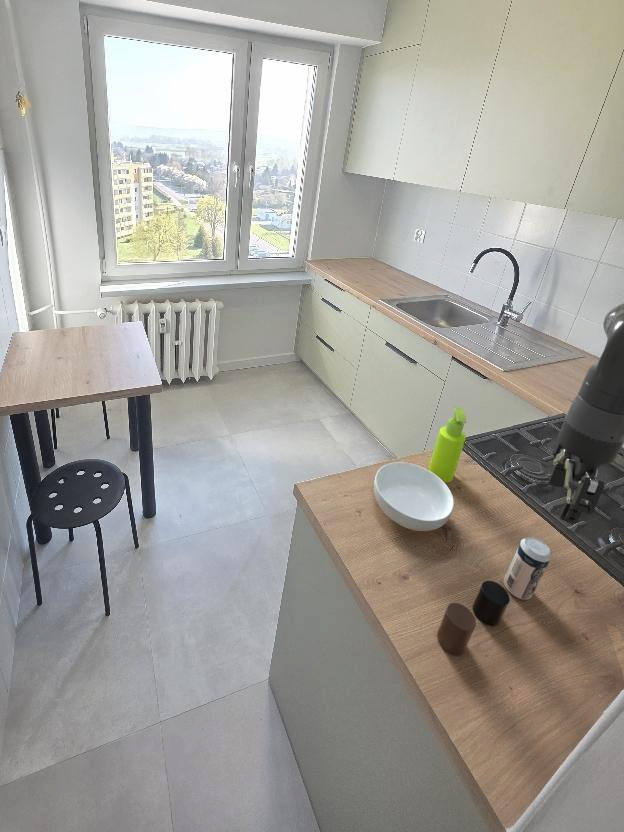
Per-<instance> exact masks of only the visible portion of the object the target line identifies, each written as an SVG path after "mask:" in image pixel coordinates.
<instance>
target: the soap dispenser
mask: <svg viewBox="0 0 624 832" xmlns="http://www.w3.org/2000/svg"><path fill="white" fill-rule="evenodd" d="M453 411H454V415H453V417H450V418H449V419H448V422H447V424H446V425H444V426H442V427H440V429H439V431H438V434H437V439H436V442H435V445H434V449H433V452H432V456H431V459H430V463H429V467H428V469H427V470H429V471H431V472H432V473H434V474H435V475H436V476H438V477H439V478H440V479H441V480H442V481H443V482H444V483H451V482H452V481H453V479H454V477H455V473H456V470H457V467H458V464H459V460H460V458H461V454H462V452H463V448H464V445H465V442H466V438H467V436H466V434H465V433H464V432H463V429H464V426H465V424H466V423H467V419H466V414H465V410H464V408H461V407H454V409H453Z"/></svg>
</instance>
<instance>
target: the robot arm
mask: <svg viewBox="0 0 624 832" xmlns="http://www.w3.org/2000/svg"><path fill="white" fill-rule="evenodd" d="M602 325H603V331H604V334H605V335H606V339H607V340H606V343H605V347H604V349H603V351H602V354H601V355H600V357H599V360H598V361H596V362H594V363H593V364H591V365H590V366H589V368H588V369H587V371H586V374H585V376H584V378H583V379H582V380H583V381H582V382H581V384H580V388H579V390H578V392H577V393H576V396H575V397H574V399H573V400H572V402H571V404H570V406H569V408H568V411H567V413H566V415H565V418H564V420H563V422H562V425H561V427H560V429H559V432H558V435H557V441H556V443H555V445H554V448H553V450H552V452H551V456H552V457H554V459H553V461H552V463H553V467H552V470H551V472H550V475H549V477H548V481H547V482H548V484H549V485H550V486H553V487H557V488H564V487H565V488H566V490H567V492H566V493H567V494H566V499H565V502H564V504H563V506H562V508H561V510H560V512H559V514H558V515H559V518H560V520H561V521H563V522H567V523H570V524H576V523H577V522H578V520H579V518H580V516H581V514H582V513H585V514H588V515H593V513H594V511H595V509H596V507H597V504H598V502H599V500H600V498H601V495H602V494H603V491H604V490H605V489H604V488H605V482H604V481H601V480H599V479H596V477H598V472H599V467H600V466H602V465H606V464H611V463H614V462H615V460H616V459H617V457H618V456H619V453H620V451H621V449H622V448H623V445H624V302H623V303H620V304H618V305H616V306H614V307H612V308H611V309H610V310H609V311H608V312H607V313H606V314H605V316H604V319H603V322H602ZM573 482H577V483H578V485H576V484H574V483H573Z"/></svg>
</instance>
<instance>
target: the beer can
mask: <svg viewBox="0 0 624 832" xmlns="http://www.w3.org/2000/svg"><path fill="white" fill-rule="evenodd" d="M514 553H515V554H514V556H513V558H512V560H511V562H510V564H509V567H508V570H507V571H506V574H505V576H504V578H503V585H504V586H505V588H506V591H507V592H509V593H510V594H511V595H513V596H514V597H516V598H518V599H520V600H530V599H531V598H532V597H533V596H534V593H535V592H536V589H537V588H538V585H539V583H540V581H541V579H542V577H543V575H544V573H545V571H546V570H547V568H548V565H549V563H550V562H551V559H552V554H551V548H549V546H548V545H547V544H546V543H545V542H544V541H543V540H541V539H540V538H538V537H534V536H528V537H525V538H522V539H521V540H520V543H519V545H518V547H517V549H516V551H515V552H514Z"/></svg>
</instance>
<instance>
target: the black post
mask: <svg viewBox="0 0 624 832" xmlns="http://www.w3.org/2000/svg"><path fill="white" fill-rule="evenodd" d="M510 601H511V599H510V595H509V593H508V590H507V589H505V588H504V586H503V585H501V584H500V583H498V582H496V581H493V580H484V581H483V582H482V583H481V586H480V588H479V590H478V593H477V596H476V597H475V599H474V602H473V604H472V611H473V615H474V616H475V618H477V619H478V621H480V622H481V623H482V624H483V625H486V626H488V627H497V626H499V625H500V622H501V621H502V619H503V616H504V614H505V612H506V610H507V608H508V606H509V604H510Z"/></svg>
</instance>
